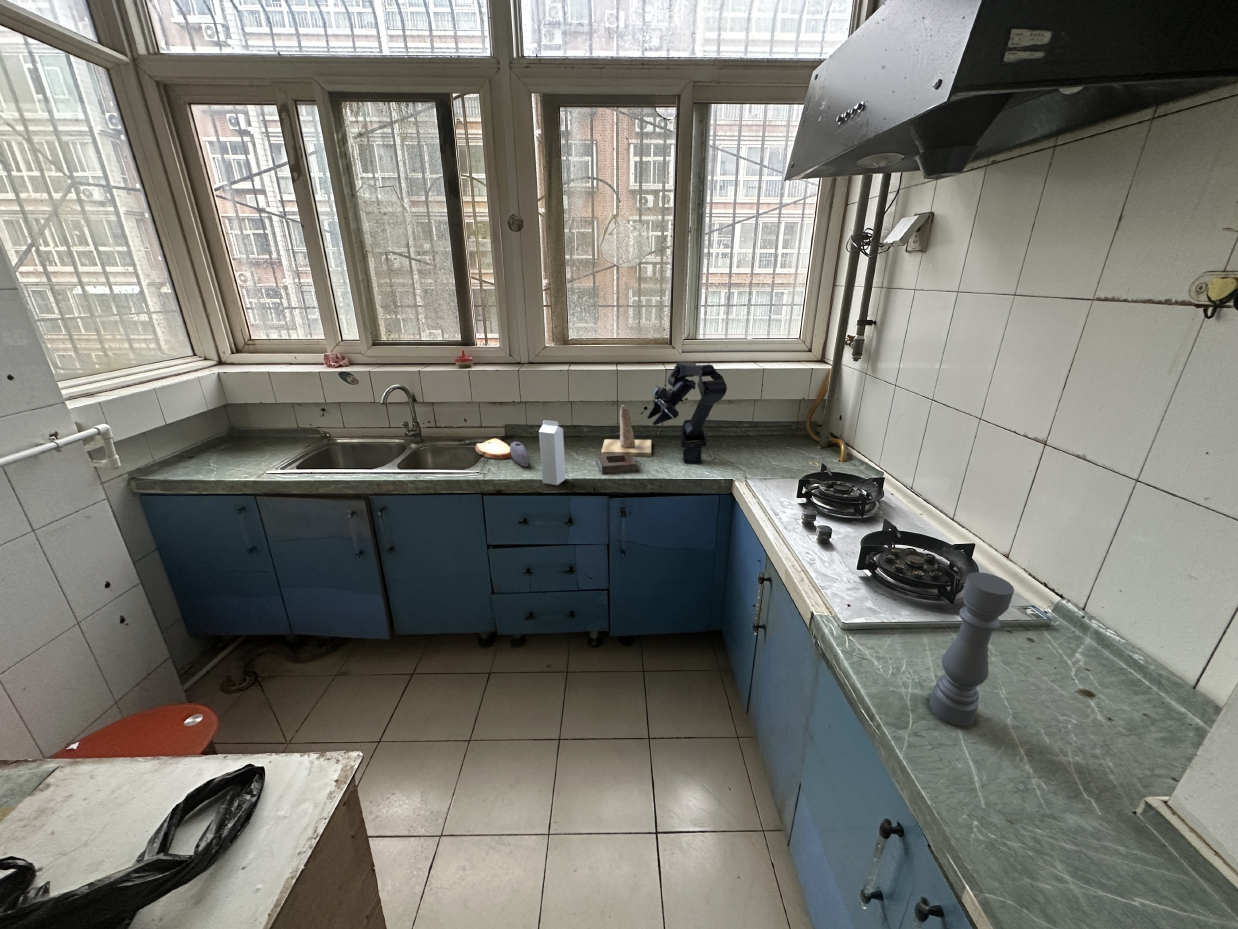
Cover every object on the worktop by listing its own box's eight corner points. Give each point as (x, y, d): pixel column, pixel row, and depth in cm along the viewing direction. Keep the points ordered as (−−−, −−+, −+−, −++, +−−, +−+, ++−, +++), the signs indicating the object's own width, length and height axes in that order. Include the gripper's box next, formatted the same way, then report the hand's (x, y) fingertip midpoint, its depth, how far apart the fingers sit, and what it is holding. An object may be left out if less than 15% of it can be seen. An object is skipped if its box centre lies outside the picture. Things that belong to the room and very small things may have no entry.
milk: (551, 477, 179) (547, 417, 171) (566, 479, 177) (562, 419, 169) (542, 483, 174) (537, 422, 166) (557, 485, 171) (553, 424, 164)
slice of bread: (512, 459, 196) (511, 450, 195) (467, 459, 197) (466, 450, 195) (521, 444, 213) (521, 436, 212) (480, 444, 214) (479, 436, 212)
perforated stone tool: (533, 468, 187) (532, 451, 184) (520, 470, 185) (518, 453, 182) (522, 456, 199) (521, 439, 197) (509, 458, 197) (508, 441, 195)
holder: (630, 459, 195) (630, 452, 194) (636, 471, 183) (637, 463, 182) (597, 461, 193) (597, 454, 192) (602, 474, 181) (601, 466, 180)
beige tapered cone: (621, 445, 208) (620, 450, 203) (613, 404, 201) (612, 408, 196) (635, 443, 207) (635, 448, 202) (629, 402, 201) (628, 406, 195)
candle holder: (956, 695, 85) (995, 570, 76) (982, 726, 80) (1027, 595, 71) (921, 696, 85) (955, 571, 76) (944, 727, 79) (984, 596, 70)
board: (651, 443, 213) (651, 439, 213) (651, 455, 198) (651, 452, 198) (604, 442, 214) (604, 439, 214) (601, 455, 199) (601, 451, 199)
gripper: (658, 373, 199) (631, 402, 201) (671, 383, 182) (641, 414, 184) (677, 392, 203) (650, 419, 206) (691, 403, 186) (661, 433, 188)
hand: (650, 421), depth 196 cm, fingers open, 9 cm apart
